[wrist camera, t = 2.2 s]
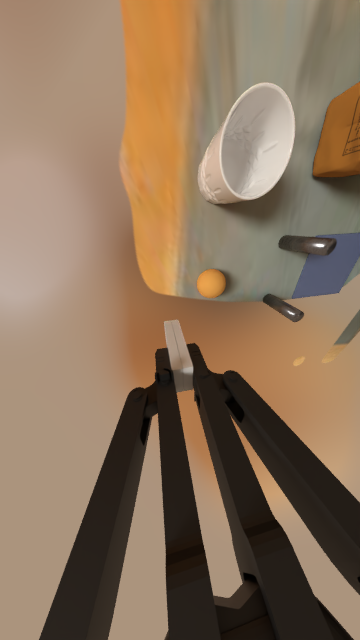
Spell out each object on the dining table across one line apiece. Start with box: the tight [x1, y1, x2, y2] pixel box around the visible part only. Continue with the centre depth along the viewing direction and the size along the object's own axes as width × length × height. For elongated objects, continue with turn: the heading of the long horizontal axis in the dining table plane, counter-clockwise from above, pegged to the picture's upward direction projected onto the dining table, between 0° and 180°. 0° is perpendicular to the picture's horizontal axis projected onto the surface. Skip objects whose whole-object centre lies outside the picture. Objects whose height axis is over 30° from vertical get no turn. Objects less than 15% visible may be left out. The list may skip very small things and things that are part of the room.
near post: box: [279, 235, 337, 256], centre depth 27 cm, size 2×2×9 cm
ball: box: [197, 269, 226, 298], centre depth 29 cm, size 6×6×6 cm
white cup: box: [198, 83, 295, 204], centre depth 19 cm, size 8×8×10 cm
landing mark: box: [292, 233, 360, 299], centre depth 35 cm, size 14×14×1 cm
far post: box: [263, 294, 304, 322], centre depth 33 cm, size 2×2×9 cm
